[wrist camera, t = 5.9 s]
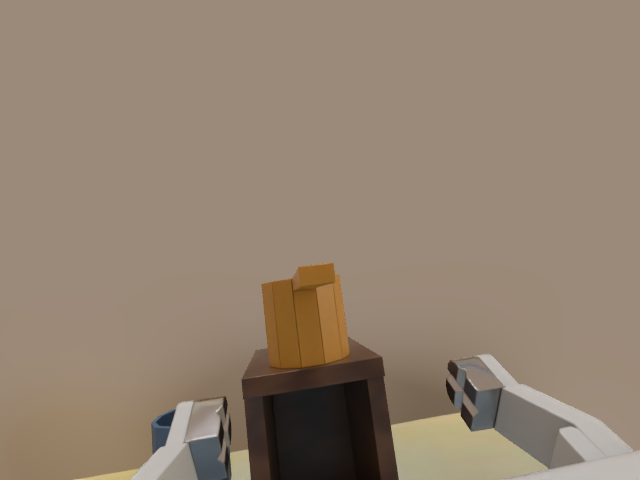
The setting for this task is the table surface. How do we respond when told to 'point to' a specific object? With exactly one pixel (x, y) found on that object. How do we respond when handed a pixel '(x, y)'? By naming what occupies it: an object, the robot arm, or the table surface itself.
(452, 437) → the table surface
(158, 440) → the blue-grey hollow cylinder
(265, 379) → the stand
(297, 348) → the cup
